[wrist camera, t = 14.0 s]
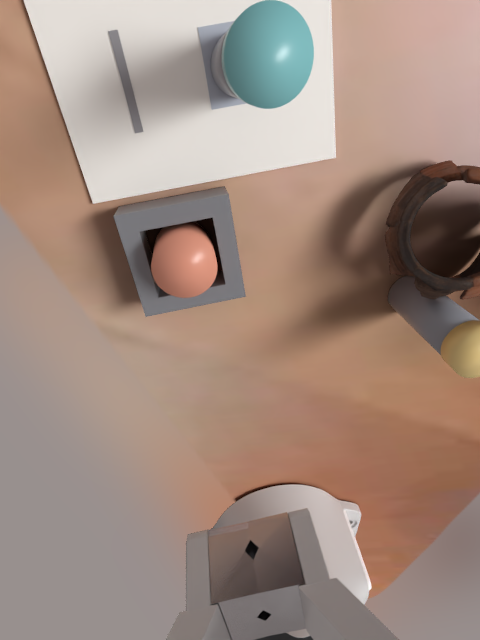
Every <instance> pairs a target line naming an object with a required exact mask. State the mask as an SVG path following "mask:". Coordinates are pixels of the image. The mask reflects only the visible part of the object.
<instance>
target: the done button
mask: <svg viewBox="0 0 480 640" xmlns="http://www.w3.org/2000/svg"><path fill="white" fill-rule="evenodd" d="M151 271H152V275H153V278H154V280H155V282H156V283H157V285H158V286H159V287H160V288H161V289H162V290H163V291H165V292H166V293H168V294H170V295H172V296H175V297H179V298H190V297H195V296H198V295H200V294H202V293H204V292H205V291H206V290H207V289H208V288H210V286H211V285H212V284H213V282H214V280H215V278H216V275H217V260H216V256H215V251H214V247H213V243H212V239H211V237H210V235H209V233H208V232H207V231H206V230H205V229H204V228H203V227H202V226H201V225H199V224H197V223H195V222H187V223H182V224H176V225H171V226H166V227H163V229H162V230H161V231H160V232H159V233H158V235H157V238H156V240H155V245H154V251H153V257H152V262H151Z"/></svg>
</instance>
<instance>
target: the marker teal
mask: <svg viewBox="0 0 480 640" xmlns="http://www.w3.org/2000/svg"><path fill="white" fill-rule="evenodd" d="M313 60H314V46H313V39H312V35H311V32H310V29H309V27H308V25H307V23H306V21H305V20H304V18H303V17H302V15H301V14H300V13H299V12H298V11H297V10H296V9H295V8H293V7H292V6H290V5H289V4H287V3H284V2H282V1H277V0H265V1H261V2H257V3H255V4H253V5H251V6H250V7H248V8H247V9H246V10H244V11H243V12H242V13H241V14H240V15H239V16H238V17H237V18H236V20H235V21H234V22H233V23H232V25H231V26H230V28H229V29H228V31H227V32H226V33H225V34H224V35H223V36H222V37H221V38H220V39H219V40H218V42H217V43H216V45H215V47H214V49H213V51H212V55H211V62H210V63H211V73H212V76H213V79H214V81H215V83H216V85H217V86H218V87H219V89H220V90H221V91H223V92H224V93H225V94H227V95H229V96H232V97H235V98H238V99H240V100H242V101H243V102H245V103H247V104H249V105H252V106H255V107H258V108H263V109H273V108H278V107H281V106H283V105H285V104H287V103H289V102H290V101H292V100H293V99H294V98H295V97H296V96H297V95H298V94H299V93H300V92H301V91H302V89H303V88H304V86H305V85H306V83H307V81H308V79H309V76H310V73H311V70H312V66H313Z"/></svg>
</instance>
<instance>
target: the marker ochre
mask: <svg viewBox="0 0 480 640" xmlns="http://www.w3.org/2000/svg"><path fill="white" fill-rule="evenodd" d="M414 282H415V277H414V276H409V275H406V276H404V277H402V278H400V279H398V280H397V281H396V282H395V283H394V284H393V285H392V287H391V288H390V290H389V293H388V302H389V304H390V306H391V307H392V308H393V309H394V310H395V311H396V312H397V313H398V314H399V315H400V316H402V317H403V318H404V319H405V320H406V321H407V322H408V323H409V324H410V325H411V326H412V327H413V328H414V329H415V330H416V331H417V332H418V333H419V334H420V335H421V336H422V337H423V338H424V339H425V340H426V341H427V342H428V343H429V344H430V345H431V346H432V347H433V348H434V349H435V350H436V351H437V352H438V353H439V354H440V355H441V356H442V358H443V360H444V361H445V362H446V363H447V364H448V365H449V366H450V367H451V368H452V369H453V370H454V371H455V372H456V373H457V374H458V375H460V376H462V377H465V378H475V377H480V320H478V319H477V318H476V317H474V316H473V315H472V314H470V313H469V312H468V311H466V310H465V309H463V308H462V307H461V306H459V305H458V304H457V303H455V302H454V301H453V300H451V299H450V298H449V297H447V296H442V297H439V298H437V299H428V298H425V297H422V296H421V294H420V291H418V290H417V289H416V287H415V284H414Z"/></svg>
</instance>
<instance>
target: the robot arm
mask: <svg viewBox="0 0 480 640" xmlns="http://www.w3.org/2000/svg"><path fill="white" fill-rule="evenodd" d="M360 519H361V512H360V509H359V506H358V505H357V504H355V503H351V502H347V501H341V500H338V499H336V498H334V497H333V496H331V495H330V494H328V493H327V492H325V491H323V490H321V489H318V488H315V487H312V486H307V485H296V484H291V485H279V486H273V487H269V488H265V489H262V490H259V491H256V492H253V493H251V494H249V495H247V496H245V497H243V498H241V499H240V500H238V501H236V502H235V503H234V504H232V505H231V506H230V507H229V508H228V509H227V510H226V511H225V512H224V513H223V514H222V515H221V517H220V518H219V520H218V521H217V523H216V524H215V526H214V527H213V528H212V529H211V530H205V531H200V532H196V533H191V534H188V537H187V542H186V611H183V612H180V613H179V615H178V617H177V619H176V621H175V623H174V624H173V627H172V629H171V631H170V632H169V634H168V636H167V638H166V640H399V639H398V638H397V637H396V636H395V635H394V634H393V633H392V632H391V631H390V630H389V629H388V628H387V627H386V626H385V625H384V624H383V623H382V622H381V621H380V620H379V619H378V618H377V617H376V616H375V615H374V614H372V612H371V611H370V610H369V609H368V608H367V607H366V606H365V602H366V600H367V599H368V596H369V590H370V589H371V582H370V579H369V576H368V573H367V570H366V567H365V564H364V561H363V559H362V556H361V553H360V550H359V547H358V544H357V542H356V539H355V535H356V532H357V529H358V525H359V522H360Z"/></svg>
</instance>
